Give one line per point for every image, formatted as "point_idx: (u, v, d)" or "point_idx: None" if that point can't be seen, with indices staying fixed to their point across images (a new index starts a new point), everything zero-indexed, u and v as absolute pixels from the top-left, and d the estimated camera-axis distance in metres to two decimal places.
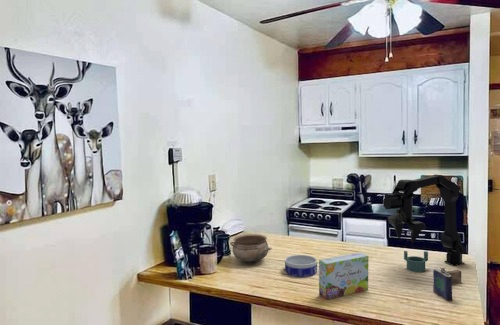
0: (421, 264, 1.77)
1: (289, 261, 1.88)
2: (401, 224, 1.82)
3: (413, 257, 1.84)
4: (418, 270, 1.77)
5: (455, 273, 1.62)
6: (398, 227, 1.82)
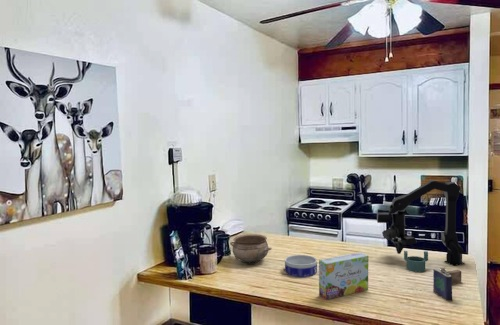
0: (421, 264, 1.77)
1: (289, 261, 1.88)
2: None
3: (413, 257, 1.84)
4: (418, 270, 1.77)
5: (455, 273, 1.62)
6: None
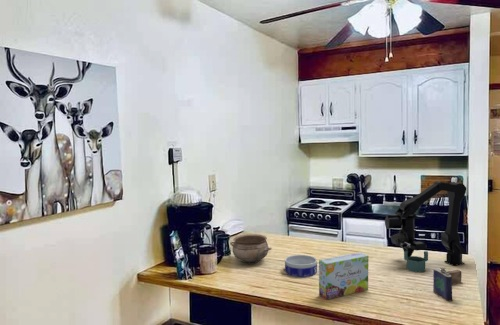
0: (421, 264, 1.77)
1: (289, 261, 1.88)
2: None
3: (413, 257, 1.84)
4: (418, 270, 1.77)
5: (455, 273, 1.62)
6: (406, 248, 1.86)
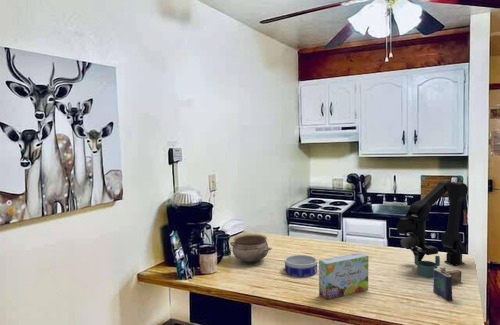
0: None
1: (289, 261, 1.88)
2: None
3: (424, 261, 1.77)
4: (429, 275, 1.70)
5: (455, 273, 1.62)
6: None
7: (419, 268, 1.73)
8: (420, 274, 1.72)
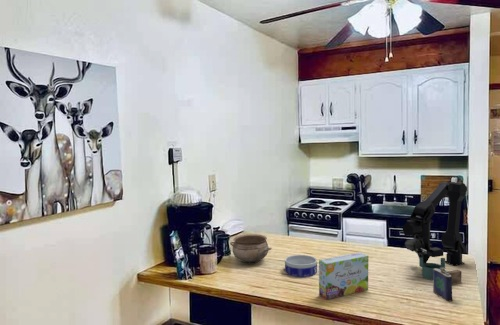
0: None
1: (289, 261, 1.88)
2: None
3: (429, 264, 1.74)
4: None
5: (455, 273, 1.62)
6: None
7: (424, 270, 1.70)
8: (425, 276, 1.70)
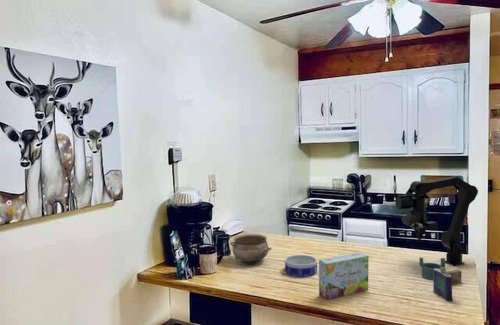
0: None
1: (289, 261, 1.88)
2: None
3: (429, 264, 1.74)
4: None
5: (455, 273, 1.62)
6: None
7: (424, 270, 1.70)
8: (425, 277, 1.69)
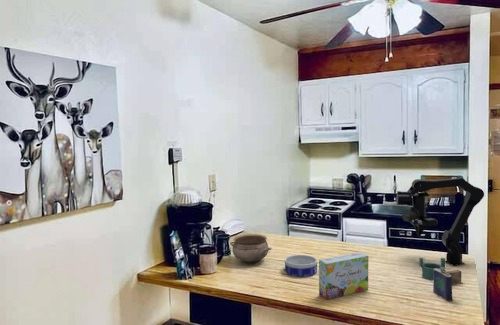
0: None
1: (289, 261, 1.88)
2: None
3: (429, 264, 1.74)
4: None
5: (455, 273, 1.62)
6: None
7: (424, 270, 1.70)
8: (425, 277, 1.69)
